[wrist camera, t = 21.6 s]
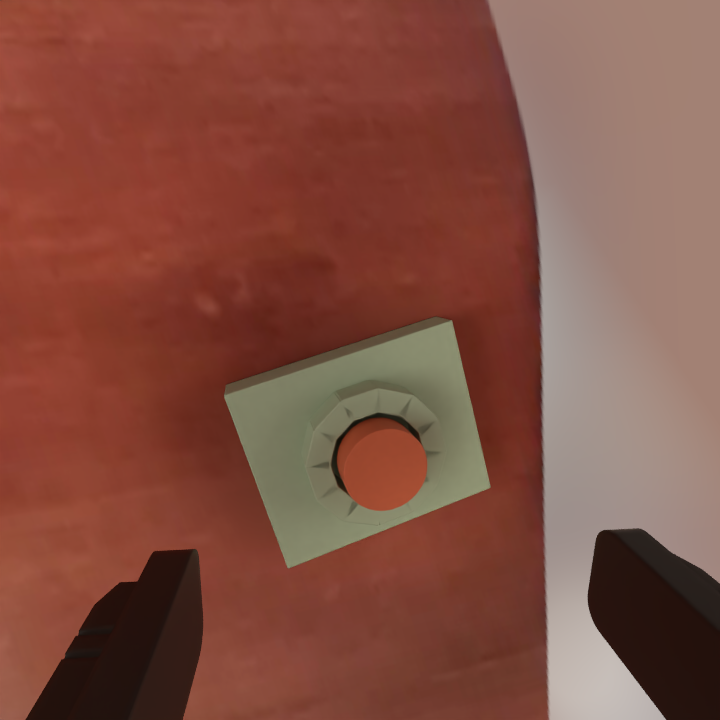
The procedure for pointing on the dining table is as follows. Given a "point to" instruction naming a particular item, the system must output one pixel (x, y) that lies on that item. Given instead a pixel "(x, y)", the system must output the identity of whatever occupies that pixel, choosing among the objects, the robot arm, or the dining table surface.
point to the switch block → (341, 413)
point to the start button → (381, 464)
